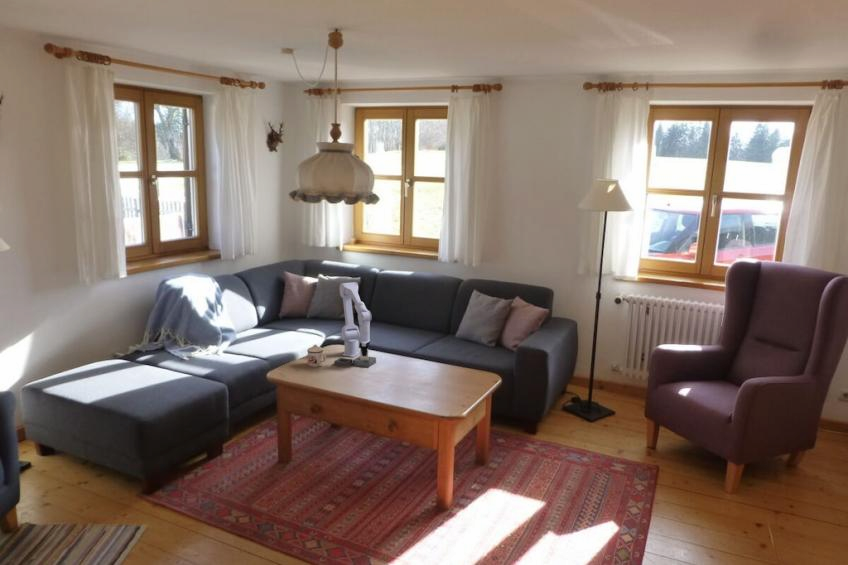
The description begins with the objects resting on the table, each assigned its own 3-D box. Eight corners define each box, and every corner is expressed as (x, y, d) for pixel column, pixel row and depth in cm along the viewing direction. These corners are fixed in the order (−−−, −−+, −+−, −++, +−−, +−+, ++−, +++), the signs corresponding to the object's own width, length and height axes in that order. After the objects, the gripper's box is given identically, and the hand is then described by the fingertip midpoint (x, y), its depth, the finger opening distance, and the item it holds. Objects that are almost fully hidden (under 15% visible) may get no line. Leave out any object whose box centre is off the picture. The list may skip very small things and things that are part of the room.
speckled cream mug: (304, 365, 352) (303, 345, 349) (314, 361, 359) (314, 341, 357) (320, 369, 346) (320, 349, 344) (330, 364, 354) (330, 345, 351)
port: (360, 360, 363) (360, 354, 362) (376, 362, 359) (376, 357, 358) (352, 365, 353) (352, 359, 353) (368, 367, 350) (368, 362, 349)
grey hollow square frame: (340, 361, 359) (340, 357, 359) (352, 363, 356) (352, 359, 356) (334, 365, 353) (334, 361, 352) (346, 367, 350) (346, 362, 349)
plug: (360, 360, 357) (360, 348, 356) (368, 360, 357) (368, 348, 356) (360, 361, 354) (360, 350, 353) (367, 362, 354) (368, 350, 353)
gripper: (358, 328, 360) (358, 351, 362) (356, 335, 345) (356, 358, 348) (370, 328, 360) (370, 351, 362) (369, 335, 346) (369, 358, 348)
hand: (364, 354), depth 355 cm, fingers closed on plug, 3 cm apart
